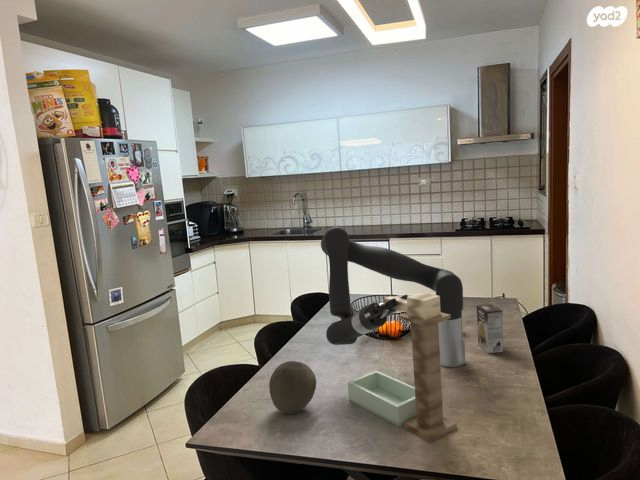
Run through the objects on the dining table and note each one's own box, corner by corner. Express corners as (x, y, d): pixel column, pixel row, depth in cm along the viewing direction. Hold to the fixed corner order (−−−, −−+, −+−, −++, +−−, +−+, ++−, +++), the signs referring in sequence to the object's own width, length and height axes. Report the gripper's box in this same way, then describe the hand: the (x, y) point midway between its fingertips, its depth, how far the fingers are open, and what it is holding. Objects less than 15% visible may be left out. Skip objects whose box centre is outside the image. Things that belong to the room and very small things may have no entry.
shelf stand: (404, 427, 132) (397, 315, 127) (428, 414, 138) (423, 307, 133) (431, 442, 124) (425, 323, 119) (456, 428, 129) (451, 314, 125)
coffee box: (477, 345, 186) (475, 304, 184) (493, 343, 187) (492, 303, 184) (487, 353, 177) (486, 311, 175) (504, 351, 178) (503, 309, 175)
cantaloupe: (300, 426, 137) (296, 376, 135) (262, 416, 145) (257, 369, 143) (326, 403, 149) (322, 358, 147) (289, 395, 156) (285, 352, 154)
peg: (379, 307, 136) (378, 290, 135) (395, 303, 139) (394, 286, 139) (424, 319, 122) (423, 300, 121) (440, 314, 125) (439, 295, 125)
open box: (349, 400, 150) (347, 382, 149) (377, 387, 157) (376, 370, 156) (398, 427, 132) (397, 407, 131) (428, 412, 139) (427, 392, 138)
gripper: (345, 312, 143) (377, 292, 129) (381, 302, 151) (414, 282, 137) (355, 336, 141) (388, 318, 127) (390, 324, 149) (425, 306, 135)
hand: (401, 299), depth 132 cm, fingers open, 4 cm apart
